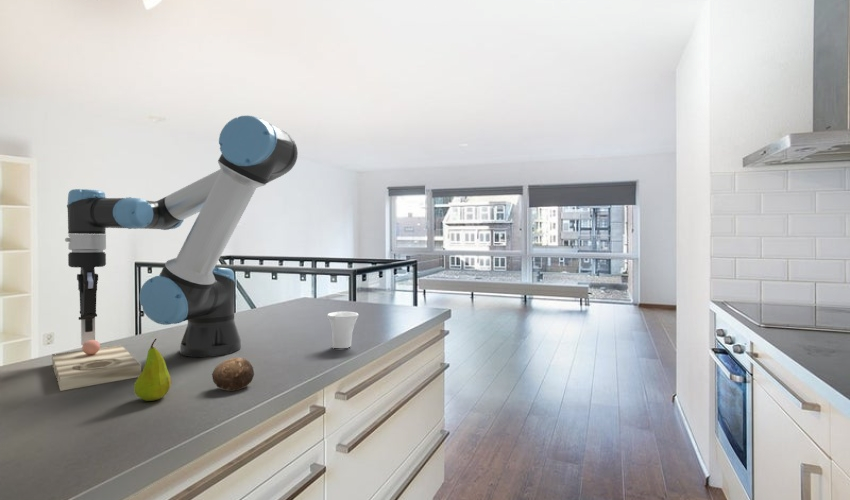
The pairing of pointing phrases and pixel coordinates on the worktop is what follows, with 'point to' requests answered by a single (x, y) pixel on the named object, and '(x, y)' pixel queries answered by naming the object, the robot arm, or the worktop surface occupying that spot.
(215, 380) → the brown potato
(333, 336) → the cup
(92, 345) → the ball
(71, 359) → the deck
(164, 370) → the fruit
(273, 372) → the worktop surface
